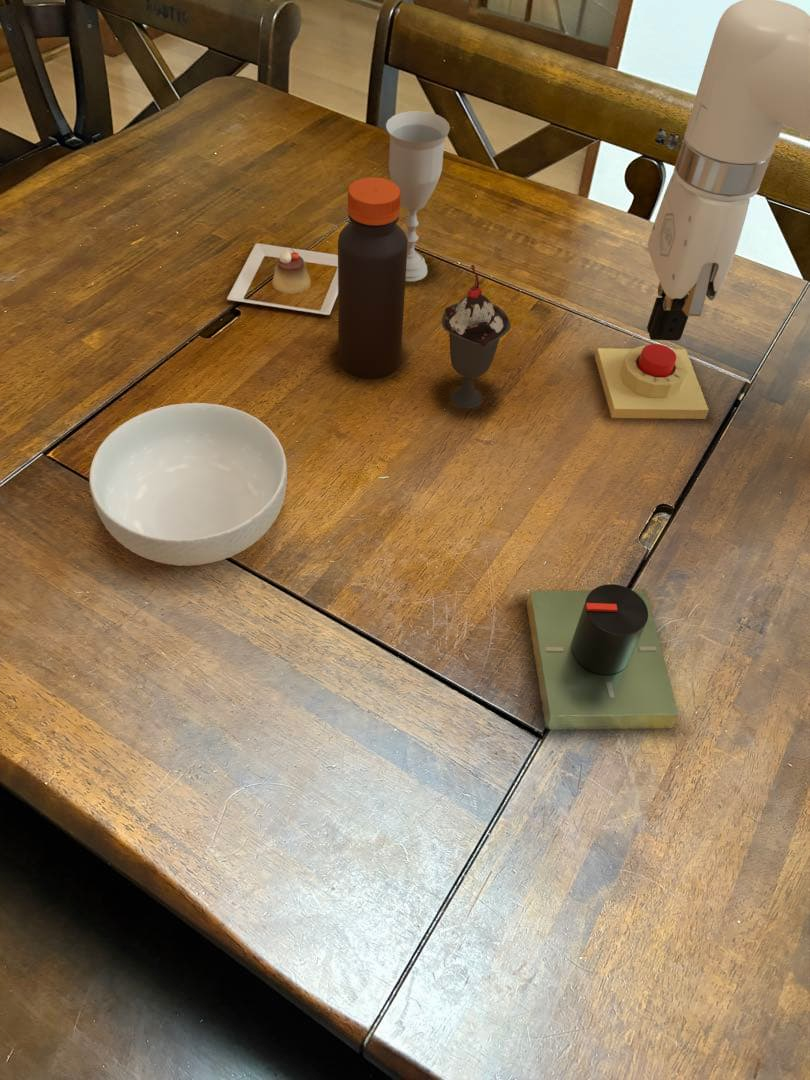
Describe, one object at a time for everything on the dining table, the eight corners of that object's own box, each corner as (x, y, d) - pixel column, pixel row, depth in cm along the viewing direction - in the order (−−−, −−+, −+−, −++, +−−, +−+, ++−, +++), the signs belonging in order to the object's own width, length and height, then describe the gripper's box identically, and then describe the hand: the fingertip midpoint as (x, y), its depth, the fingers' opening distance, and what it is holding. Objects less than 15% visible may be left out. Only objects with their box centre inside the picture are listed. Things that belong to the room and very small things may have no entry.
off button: (667, 357, 98) (672, 343, 96) (675, 379, 95) (680, 365, 94) (634, 356, 98) (638, 343, 96) (641, 378, 95) (645, 365, 94)
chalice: (426, 296, 108) (438, 148, 94) (372, 283, 109) (376, 134, 95) (444, 264, 112) (458, 118, 99) (392, 251, 114) (399, 106, 100)
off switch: (681, 361, 102) (690, 336, 100) (704, 422, 96) (714, 396, 93) (593, 360, 102) (600, 334, 99) (610, 421, 95) (618, 395, 93)
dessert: (352, 265, 111) (352, 229, 108) (329, 323, 104) (329, 286, 100) (256, 250, 112) (253, 215, 109) (227, 307, 104) (223, 271, 101)
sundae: (456, 371, 99) (470, 248, 88) (508, 397, 97) (530, 274, 85) (421, 403, 96) (431, 279, 84) (475, 430, 93) (493, 307, 82)
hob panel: (638, 607, 80) (646, 589, 78) (670, 731, 72) (679, 714, 70) (525, 607, 79) (530, 589, 77) (544, 732, 71) (550, 715, 69)
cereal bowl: (297, 583, 79) (294, 530, 74) (100, 603, 77) (81, 549, 72) (282, 448, 90) (278, 393, 85) (108, 461, 88) (93, 405, 82)
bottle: (380, 390, 97) (387, 217, 81) (326, 368, 98) (323, 195, 83) (411, 356, 100) (424, 185, 85) (359, 335, 102) (361, 164, 87)
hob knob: (626, 625, 75) (643, 582, 71) (635, 675, 72) (654, 634, 68) (568, 623, 75) (582, 580, 71) (575, 673, 72) (590, 631, 68)
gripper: (660, 121, 84) (613, 291, 98) (700, 208, 74) (642, 382, 88) (739, 124, 85) (681, 293, 99) (789, 211, 75) (717, 384, 89)
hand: (662, 335), depth 93 cm, fingers closed
